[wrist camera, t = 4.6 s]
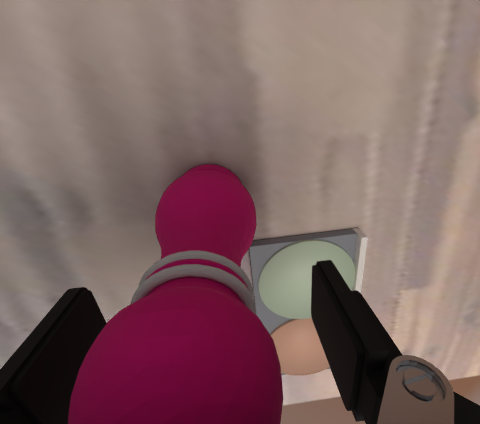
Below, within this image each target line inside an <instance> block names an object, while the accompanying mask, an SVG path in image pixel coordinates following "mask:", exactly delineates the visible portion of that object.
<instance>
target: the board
mask: <svg viewBox="0 0 480 424" xmlns="http://www.w3.org/2000/svg"><path fill="white" fill-rule="evenodd" d="M367 241H368V237H367V236H366V235H365V234H364V233H363V232H362V231H361V230H360V229H359V228H353V229H345V230H337V231H329V232H321V233H313V234H305V235H296V236H288V237H280V238H272V239H264V240H256V241H252V244H251V246H250V248H249V252H250V261H251V270H252V280H253V289H254V299H255V308H256V315H257V316H258V317H259V319H260V320H261V322H262V323H263V325H264V326H265V328H266V329H267V331H268V332H269V334H270V335H271V337H272V338H273V340H274V344H275V347H276V351H277V354H278V358H279V362H280V366H281V375H284V374H289V375H309V374H313V373H317V372H320V371H322V370H325V369H330V366H329V363H328V360H327V358H326V355H325V352H324V350H323V347H322V345H321V342H320V339H319V337H318V334H317V331H316V329H315V326H314V323H313V320H312V317H311V288H312V266H313V265H316V262H317V261H325V260H332V262H333V263H334V265H335V266H336V268H337V269H338V271H339V273H340V274H341V276H342V277H343V279H344V280H345V282H346V284H347V285H348V287H349V288H350V290H351V291H354V290H357V291H359V292H360V293H361V286H362V278H363V271H364V263H365V256H366V248H367Z"/></svg>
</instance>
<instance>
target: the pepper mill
mask: <svg viewBox="0 0 480 424" xmlns="http://www.w3.org/2000/svg"><path fill="white" fill-rule="evenodd" d="M155 227H156V235H157V239H158V241H159V243H160V246H161V254H162V256H161V259H160V260H159V261H157V262H156V263H154V264H153V265H152V266H151V267H150V268H149V269H148V270H147V271H146V272H145V274H144V275H143V277H142V279H141V281H140V283H139V287H138V289H137V290H136V292H135V294H134V296H133V298H132V301H131V304H130V305H129V306H127V307H126V308H124V309H122V310H121V311H119V312H118V313H117V314H116V315H115V316H114V317H113V318H112V319H111V320H109V321H108V322H107V324H106V325H105V327H104V328H103V329H102V331H101V332H100V333H99V335H98V336H97V338H96V339H95V341H94V343H93V344H92V346H91V348H90V349H89V351H88V352H87V354H86V356H85V358H84V361H83V363H82V365H81V367H80V369H79V372H78V376H77V379H76V382H75V385H74V388H73V392H72V395H71V400H70V408H69V416H68V424H280V421H281V412H282V404H283V391H282V377H281V366H280V362H279V358H278V354H277V351H276V347H275V344H274V340H273V338H272V337H271V335H270V334H269V332H268V331H267V329H266V328H265V326H264V325H263V323H262V322H261V320H260V319H259V317H258V316H257V315H256V309H255V303H254V300H253V290H252V286H251V283H250V280H249V278H248V276H247V275H246V274H245V272H244V271H243V270H242V269H241V268H240V264H241V260H242V258H243V256H244V255H245V254H246V252H247V251H248V249H249V248H250V246H251V244H252V241H253V238H254V234H255V230H256V211H255V206H254V203H253V200H252V198H251V196H250V194H249V193H248V191H247V190H246V189H245V187H244V186H243V185H242V184H241V182H240V180H239V179H238V177H237V176H236V175H235V174H234V173H232V172H231V171H230V170H228V169H226V168H224V167H222V166H218V165H213V164H205V165H199V166H197V167H194V168H192V169H190V170H189V171H187V172H186V173H185V174H184V175H183V176H182V177H180V178H178V179H177V180H175V181H174V182H173V183H172V184H171V185H170V186H169V187H168V188H167V189H166V190H165V192H164V193H163V195H162V197H161V199H160V202H159V204H158V208H157V211H156V220H155Z"/></svg>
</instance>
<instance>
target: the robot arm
mask: <svg viewBox="0 0 480 424" xmlns="http://www.w3.org/2000/svg"><path fill="white" fill-rule="evenodd" d="M311 317H312V320H313V323H314V326H315V329H316V331H317V334H318V337H319V339H320V342H321V345H322V347H323V350H324V352H325V355H326V358H327V360H328V363H329V366H330V368H331V371H332V374H333V376H334V379H335V382H336V384H337V387H338V390H339V392H340V395H341V397H342V400H343V403H344V405H345V408H346V409H347V411H351V410H352V412H353V415H354V417H355V420H356V421H365V423H366V424H480V406H479V405H478V404H476V403H474V402H472V401H470V400H468V399H466V398H464V397H463V396H461V395H459V394H457V393H455V392H453V388H452V386H451V384H450V383H449V381H448V379H447V378H446V377H445V375H444V374H443V373H442V372H441V371H440V370H439V369H438V368H436V367H435V366H434V365H433V364H431V363H429V362H427V361H426V360H424V359H422V358H419V357H416V356H411V355H402V354H401V352H400V351H399V349H398V348H397V346H396V345H395V343H394V342H393V340H392V339H391V337H390V336H389V334H388V333H387V332H386V330H385V329H384V327H383V326H382V324H381V323H380V321H379V320H378V318H377V317H376V315H375V314H374V312H373V311H372V309H371V308H370V306H369V305H368V303H367V302H366V300H365V299H364V298H363V296H362V295H361V293H360V292H359V291H357V290H354V291H351V290H350V288H349V287H348V285H347V284H346V282H345V280H344V279H343V277H342V276H341V274H340V273H339V271H338V269H337V268H336V266H335V265H334V263H333V262H332V260H325V261H317V262H316V265H313V266H312V288H311ZM106 324H107V323H106V321H105V319H104V317H103V315H102V313H101V311H100V309H99V307H98V305H97V303H96V300H95V298H94V296H93V294H92V292H91V291H90V290H88V289H87V288H85V287H81V288H72V289H69V290H67V291H66V292H65V294H64V295H63V296H62V297H61V298H60V299H59V301H58V302H57V303H56V304H55V305H54V307H53V308H52V309H51V310H50V311H49V312H48V314H47V315H46V316H45V317H44V318H43V320H42V321H41V322H40V323H39V324H38V325H37V327H36V328H35V329H34V330H33V331H32V333H31V334H30V335H29V336H28V337H27V339H26V340H25V341H24V342H23V343H22V344H21V346H20V347H19V348H18V349H17V350H16V352H15V353H14V354H13V355H12V356H11V357H10V359H9V360H8V361H7V362H6V363H5V365H4V366H3V367H2V368H1V369H0V424H68V416H69V408H70V400H71V395H72V392H73V388H74V385H75V382H76V379H77V376H78V372H79V369H80V367H81V365H82V363H83V361H84V358H85V356H86V354H87V352H88V351H89V349H90V348H91V346H92V344H93V343H94V341H95V339H96V338H97V336H98V335H99V333H100V332H101V331H102V329H103V328H104V327H105V325H106Z"/></svg>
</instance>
